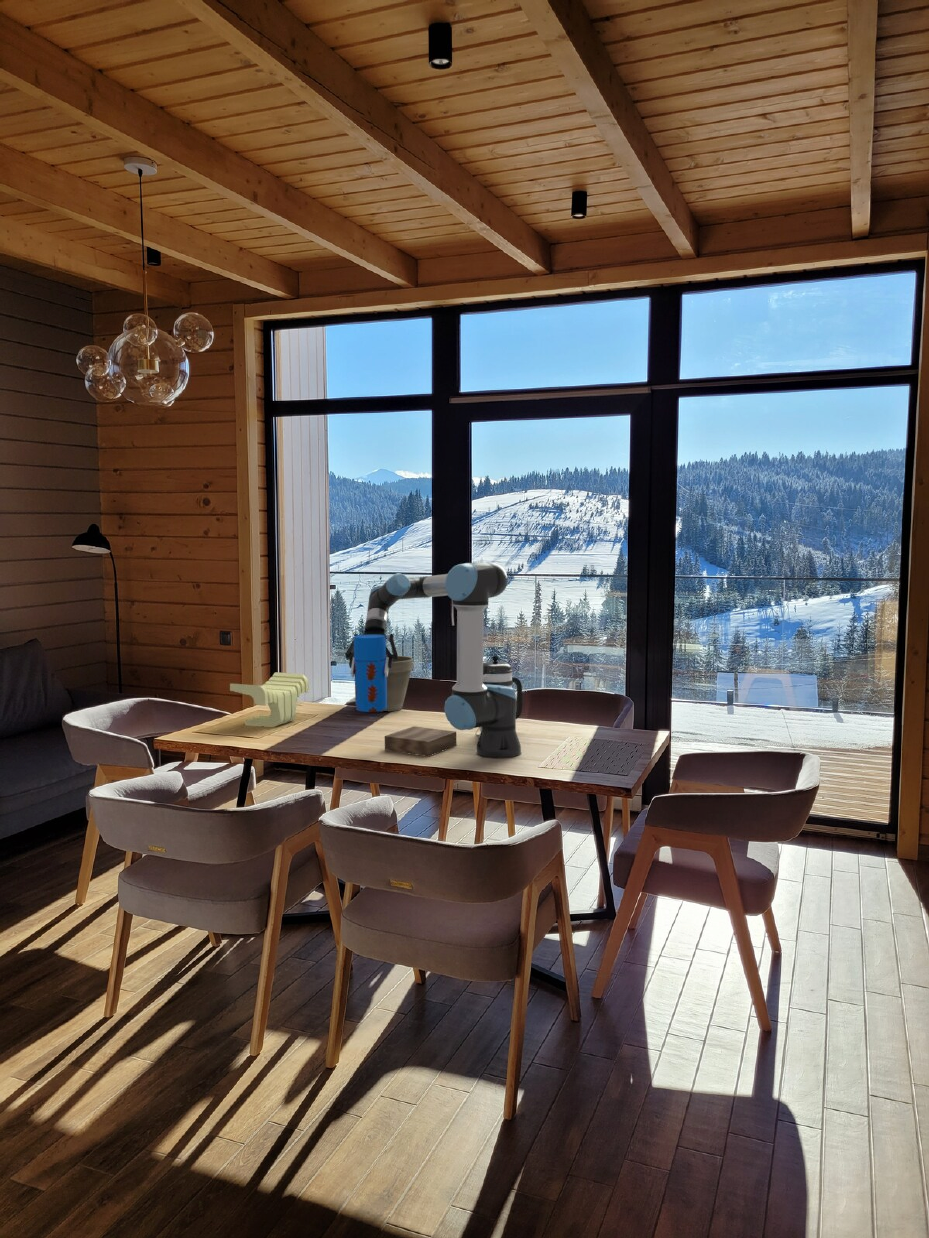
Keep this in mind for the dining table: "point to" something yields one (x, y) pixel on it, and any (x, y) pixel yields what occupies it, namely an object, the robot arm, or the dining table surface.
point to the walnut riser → (420, 741)
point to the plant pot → (398, 682)
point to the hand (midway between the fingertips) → (369, 674)
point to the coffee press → (501, 679)
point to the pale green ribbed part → (275, 697)
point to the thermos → (370, 672)
